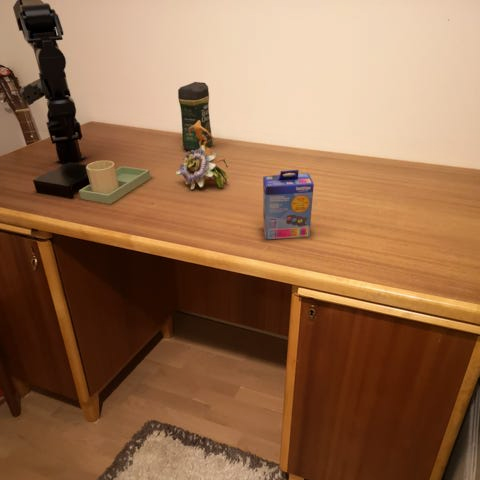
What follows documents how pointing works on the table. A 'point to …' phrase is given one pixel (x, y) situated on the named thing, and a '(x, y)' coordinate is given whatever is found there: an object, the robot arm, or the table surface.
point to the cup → (102, 176)
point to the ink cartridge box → (287, 205)
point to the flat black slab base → (61, 180)
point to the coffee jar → (194, 113)
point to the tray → (127, 182)
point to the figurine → (201, 135)
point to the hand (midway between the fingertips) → (68, 133)
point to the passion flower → (201, 168)
